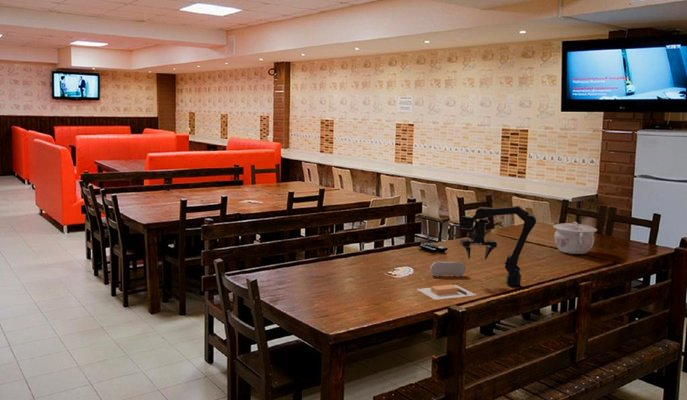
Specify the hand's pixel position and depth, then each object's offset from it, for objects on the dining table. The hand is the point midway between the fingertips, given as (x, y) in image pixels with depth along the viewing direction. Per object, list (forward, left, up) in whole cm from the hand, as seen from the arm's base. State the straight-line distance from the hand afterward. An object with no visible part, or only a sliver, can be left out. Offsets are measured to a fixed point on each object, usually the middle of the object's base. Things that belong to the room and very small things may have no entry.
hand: (477, 258), depth 326 cm
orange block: (+17, +20, -11) cm, 28 cm away
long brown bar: (+15, +20, -12) cm, 27 cm away
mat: (+21, +22, -12) cm, 33 cm away
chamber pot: (-84, -69, -12) cm, 110 cm away
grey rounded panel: (+14, -8, -13) cm, 20 cm away
